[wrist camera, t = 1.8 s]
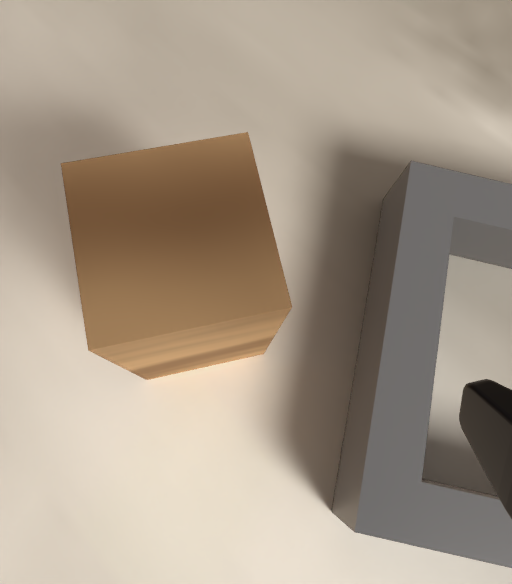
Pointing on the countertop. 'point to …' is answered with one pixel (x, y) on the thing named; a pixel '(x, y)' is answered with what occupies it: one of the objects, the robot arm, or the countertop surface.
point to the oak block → (175, 256)
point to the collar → (418, 367)
